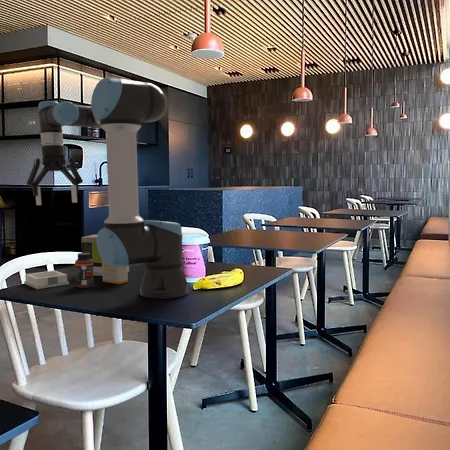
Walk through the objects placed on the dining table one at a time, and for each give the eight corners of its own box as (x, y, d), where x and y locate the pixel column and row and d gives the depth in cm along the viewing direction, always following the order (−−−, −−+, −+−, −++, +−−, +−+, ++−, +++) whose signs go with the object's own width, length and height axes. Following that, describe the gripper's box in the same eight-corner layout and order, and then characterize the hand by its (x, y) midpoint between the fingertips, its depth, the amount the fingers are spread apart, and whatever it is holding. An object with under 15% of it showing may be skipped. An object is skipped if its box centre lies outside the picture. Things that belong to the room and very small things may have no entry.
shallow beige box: (68, 284, 171) (68, 274, 171) (37, 289, 164) (36, 279, 164) (54, 278, 180) (54, 270, 180) (24, 283, 173) (23, 274, 173)
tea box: (129, 272, 192) (129, 234, 191) (118, 277, 183) (117, 237, 181) (95, 270, 196) (93, 233, 195) (81, 275, 186) (80, 236, 185)
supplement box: (128, 282, 174) (127, 245, 173) (118, 284, 170) (117, 247, 169) (112, 279, 178) (111, 243, 177) (101, 282, 174) (100, 245, 173)
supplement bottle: (88, 288, 164) (87, 255, 163) (72, 288, 165) (71, 254, 164) (96, 284, 170) (95, 252, 169) (80, 284, 171) (79, 251, 170)
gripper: (79, 146, 190) (84, 201, 192) (13, 145, 174) (19, 206, 175) (89, 144, 185) (93, 201, 187) (21, 143, 168) (27, 206, 170)
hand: (57, 203), depth 181 cm, fingers open, 13 cm apart
